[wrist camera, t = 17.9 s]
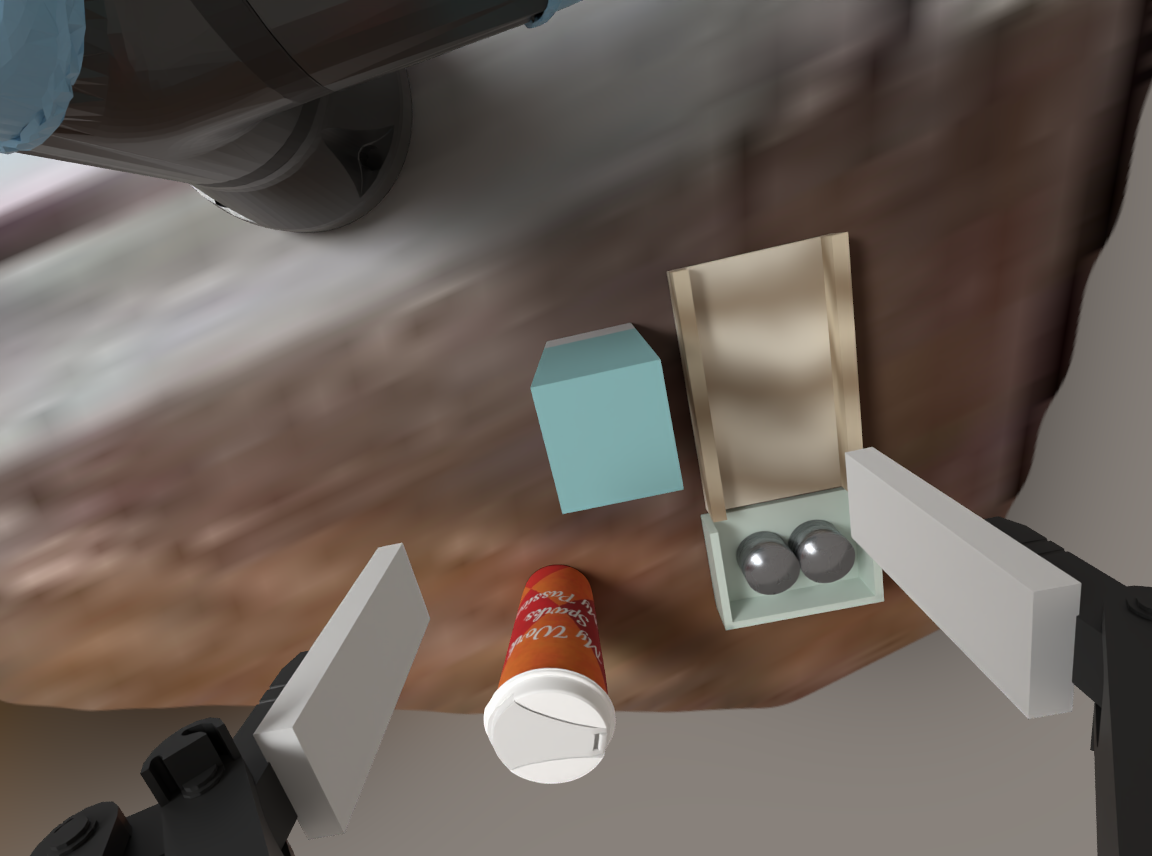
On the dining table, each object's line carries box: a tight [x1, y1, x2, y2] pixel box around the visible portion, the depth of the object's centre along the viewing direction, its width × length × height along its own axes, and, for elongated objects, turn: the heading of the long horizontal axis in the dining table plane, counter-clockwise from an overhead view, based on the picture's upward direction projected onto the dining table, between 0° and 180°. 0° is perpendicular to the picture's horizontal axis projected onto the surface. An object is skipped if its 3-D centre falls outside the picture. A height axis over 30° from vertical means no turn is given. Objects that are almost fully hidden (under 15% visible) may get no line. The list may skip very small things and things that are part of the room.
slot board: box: [667, 232, 863, 522], centre depth 38 cm, size 18×11×2 cm, turn 13°
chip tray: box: [701, 487, 884, 630], centre depth 41 cm, size 8×12×3 cm
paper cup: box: [484, 565, 616, 784], centre depth 38 cm, size 8×8×14 cm
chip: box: [736, 531, 800, 595], centre depth 41 cm, size 4×4×2 cm
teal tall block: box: [531, 323, 684, 514], centre depth 32 cm, size 6×6×14 cm
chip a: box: [788, 519, 855, 583], centre depth 41 cm, size 4×4×2 cm
